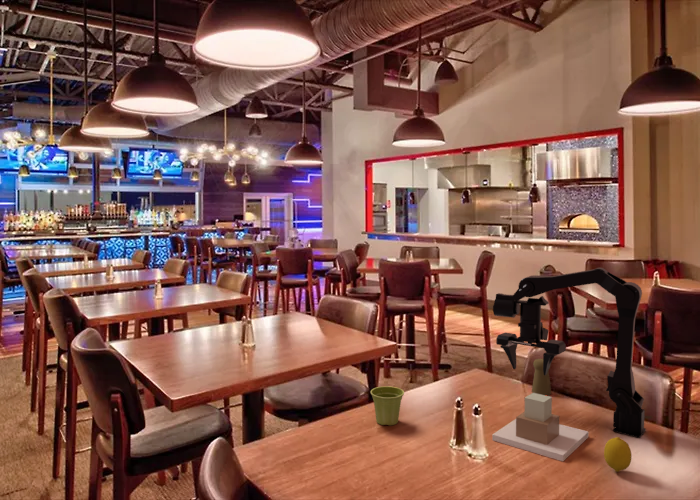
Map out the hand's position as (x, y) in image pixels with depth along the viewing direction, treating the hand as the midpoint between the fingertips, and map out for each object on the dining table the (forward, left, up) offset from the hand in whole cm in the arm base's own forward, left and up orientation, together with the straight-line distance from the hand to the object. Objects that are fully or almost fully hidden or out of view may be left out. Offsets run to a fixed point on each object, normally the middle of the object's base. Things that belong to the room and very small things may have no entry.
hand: (529, 371), depth 155 cm
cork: (+4, -19, -12) cm, 23 cm away
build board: (-10, +16, -12) cm, 22 cm away
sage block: (-10, +18, -6) cm, 21 cm away
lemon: (-30, +22, -12) cm, 39 cm away
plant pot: (+27, +33, -12) cm, 44 cm away
